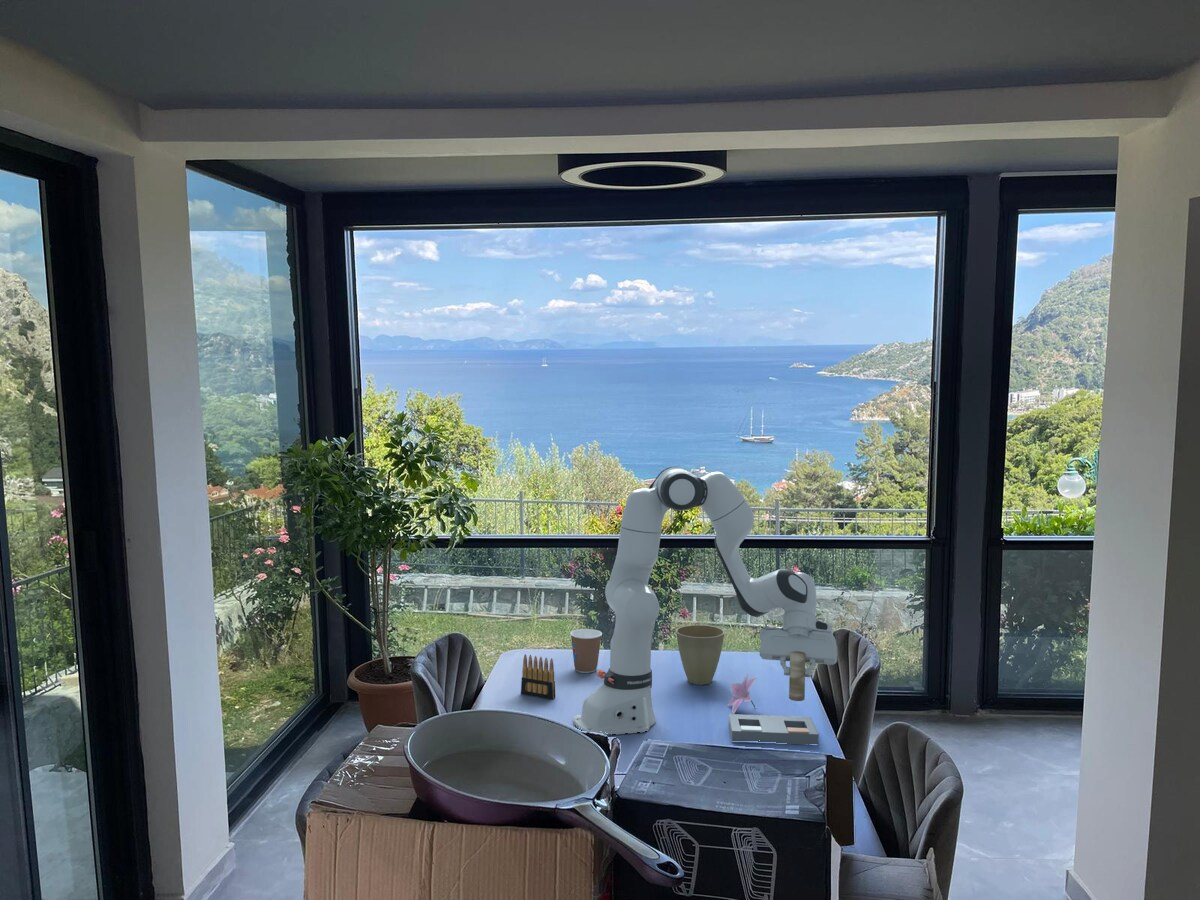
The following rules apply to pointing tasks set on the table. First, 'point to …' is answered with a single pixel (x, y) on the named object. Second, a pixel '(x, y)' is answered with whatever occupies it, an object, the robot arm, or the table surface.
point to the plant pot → (700, 651)
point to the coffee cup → (586, 649)
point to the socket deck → (773, 729)
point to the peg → (797, 676)
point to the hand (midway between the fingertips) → (797, 675)
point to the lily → (741, 693)
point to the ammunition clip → (538, 678)
